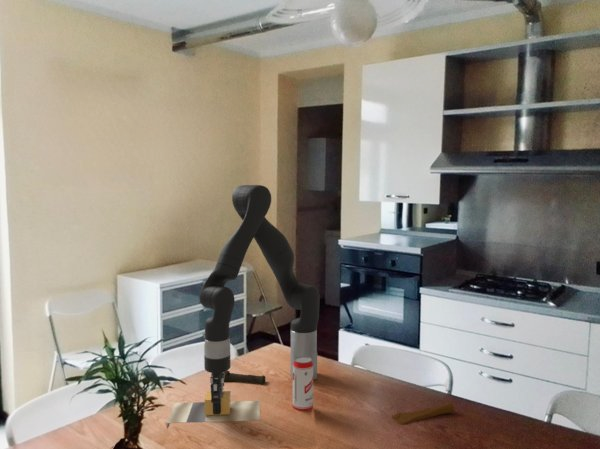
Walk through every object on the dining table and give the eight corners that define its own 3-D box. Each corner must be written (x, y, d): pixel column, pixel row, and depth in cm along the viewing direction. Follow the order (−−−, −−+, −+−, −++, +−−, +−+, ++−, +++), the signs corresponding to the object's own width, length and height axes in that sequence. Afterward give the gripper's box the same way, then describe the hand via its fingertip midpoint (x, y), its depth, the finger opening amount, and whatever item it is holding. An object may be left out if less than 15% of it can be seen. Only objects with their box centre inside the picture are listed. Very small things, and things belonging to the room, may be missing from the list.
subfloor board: (260, 405, 147) (260, 400, 147) (259, 425, 135) (259, 420, 135) (175, 407, 145) (174, 402, 145) (166, 427, 133) (166, 422, 133)
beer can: (316, 408, 145) (316, 357, 144) (308, 417, 139) (308, 364, 138) (297, 403, 148) (298, 354, 146) (289, 412, 142) (289, 361, 141)
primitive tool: (400, 426, 135) (400, 414, 135) (390, 417, 140) (390, 406, 140) (456, 416, 141) (456, 404, 141) (444, 408, 147) (445, 397, 146)
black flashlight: (266, 385, 162) (266, 372, 161) (262, 390, 158) (262, 376, 157) (215, 379, 166) (215, 366, 166) (210, 384, 163) (210, 371, 162)
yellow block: (230, 405, 142) (230, 390, 142) (229, 414, 137) (229, 398, 137) (207, 406, 142) (207, 391, 142) (204, 415, 137) (204, 399, 136)
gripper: (228, 362, 131) (228, 420, 133) (232, 344, 145) (232, 397, 147) (201, 362, 131) (201, 421, 132) (207, 344, 145) (208, 398, 146)
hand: (218, 408), depth 139 cm, fingers closed on yellow block, 5 cm apart
